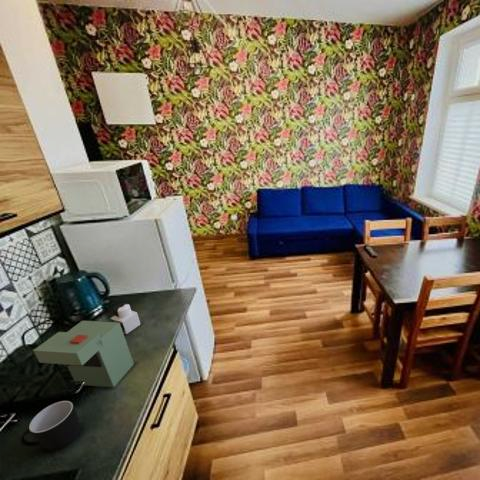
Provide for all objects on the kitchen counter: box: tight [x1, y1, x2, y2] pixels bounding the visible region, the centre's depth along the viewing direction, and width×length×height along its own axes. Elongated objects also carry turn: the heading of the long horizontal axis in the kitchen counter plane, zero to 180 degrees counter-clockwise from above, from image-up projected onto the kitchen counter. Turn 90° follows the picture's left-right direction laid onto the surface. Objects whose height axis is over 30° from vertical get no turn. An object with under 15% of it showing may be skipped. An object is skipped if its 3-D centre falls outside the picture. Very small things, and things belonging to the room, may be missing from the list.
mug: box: [19, 400, 81, 452], centre depth 75 cm, size 12×9×10 cm
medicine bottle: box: [110, 302, 141, 335], centre depth 118 cm, size 7×7×12 cm
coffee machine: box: [32, 320, 135, 388], centre depth 91 cm, size 14×16×23 cm
